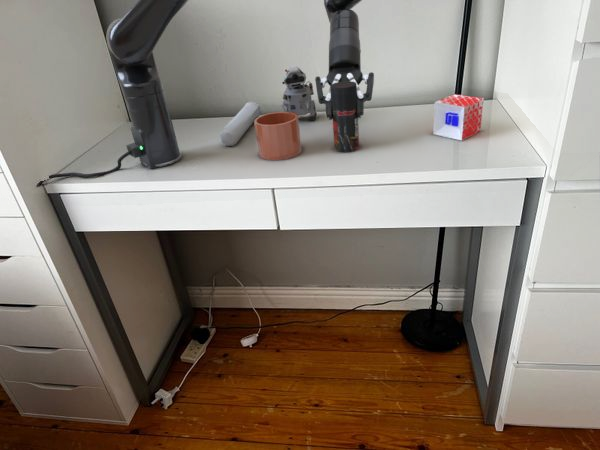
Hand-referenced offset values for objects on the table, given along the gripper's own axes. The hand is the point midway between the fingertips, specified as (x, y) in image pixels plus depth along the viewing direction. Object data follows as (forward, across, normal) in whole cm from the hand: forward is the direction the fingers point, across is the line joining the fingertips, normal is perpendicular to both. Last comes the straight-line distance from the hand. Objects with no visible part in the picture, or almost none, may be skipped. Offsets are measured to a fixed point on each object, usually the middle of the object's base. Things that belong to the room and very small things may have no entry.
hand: (344, 117), depth 102 cm
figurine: (-12, -15, +23) cm, 30 cm away
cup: (+5, -16, +6) cm, 18 cm away
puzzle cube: (0, +26, +12) cm, 29 cm away
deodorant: (+5, 0, +7) cm, 9 cm away
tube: (-7, -31, +19) cm, 37 cm away
